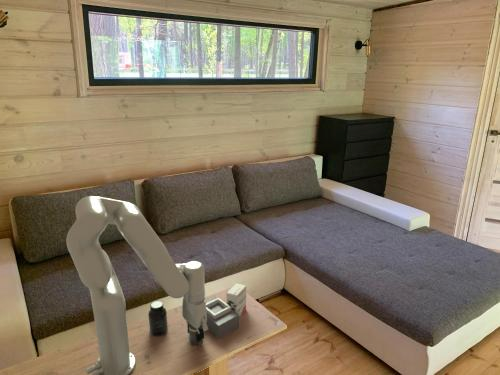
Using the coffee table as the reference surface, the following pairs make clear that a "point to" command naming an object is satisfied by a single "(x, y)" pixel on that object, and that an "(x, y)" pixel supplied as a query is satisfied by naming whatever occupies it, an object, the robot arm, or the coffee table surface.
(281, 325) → the coffee table surface
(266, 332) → the coffee table surface
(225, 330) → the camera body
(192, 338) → the lens
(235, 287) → the ink box
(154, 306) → the supplement bottle
